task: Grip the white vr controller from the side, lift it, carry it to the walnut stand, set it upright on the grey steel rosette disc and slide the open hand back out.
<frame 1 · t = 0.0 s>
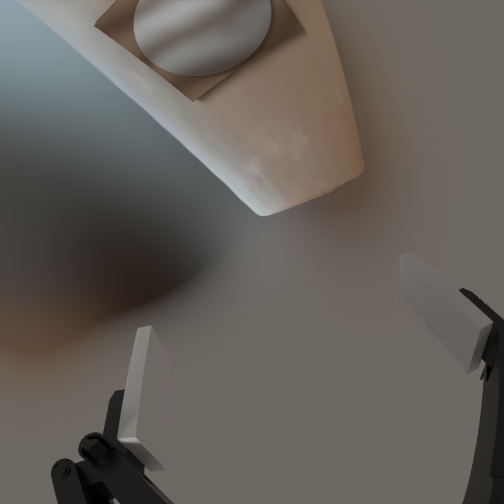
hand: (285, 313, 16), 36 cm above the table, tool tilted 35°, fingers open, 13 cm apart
rosette stand: (200, 14, 31), on the table
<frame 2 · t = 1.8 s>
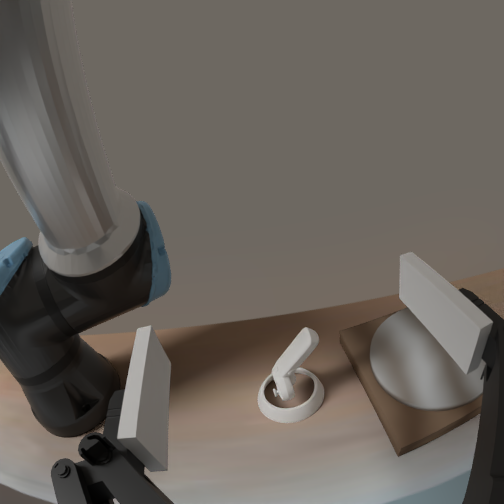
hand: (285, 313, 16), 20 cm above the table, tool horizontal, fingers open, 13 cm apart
rosette stand: (433, 364, 32), on the table
white vr controller: (291, 396, 34), on the table
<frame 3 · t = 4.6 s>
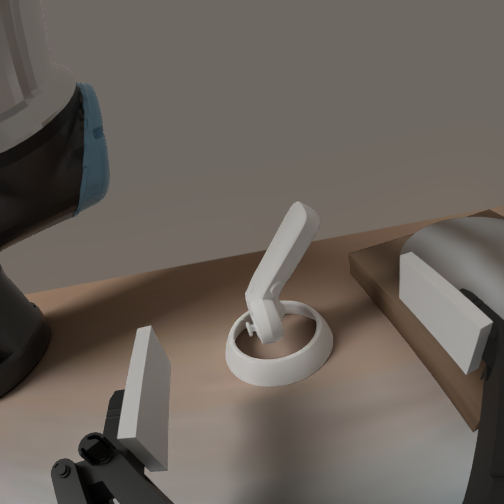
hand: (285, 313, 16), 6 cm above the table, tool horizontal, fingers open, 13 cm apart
rosette stand: (490, 292, 20), on the table
white vr controller: (279, 347, 22), on the table
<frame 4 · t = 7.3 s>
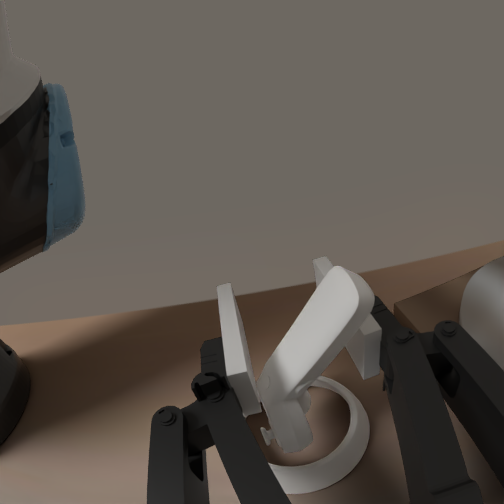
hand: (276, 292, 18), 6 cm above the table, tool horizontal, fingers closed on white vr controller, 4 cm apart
white vr controller: (300, 435, 16), on the table, touching gripper
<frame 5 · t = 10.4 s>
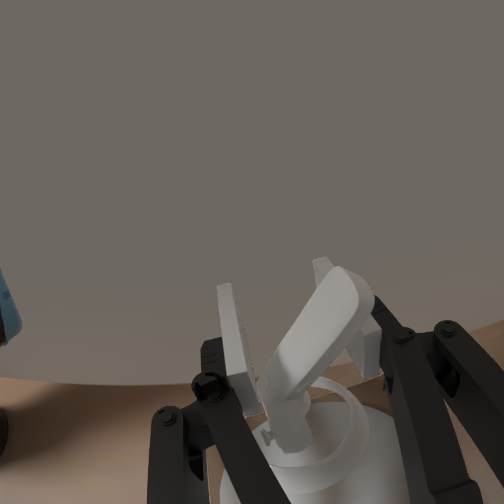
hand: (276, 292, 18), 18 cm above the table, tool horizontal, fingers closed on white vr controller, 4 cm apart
rosette stand: (323, 492, 21), on the table
white vr controller: (300, 435, 16), point 11 cm above the table, touching gripper
when the fingers open (9 cm above the table, at t = 13.5 s): white vr controller stays where it is, resting on rosette stand.
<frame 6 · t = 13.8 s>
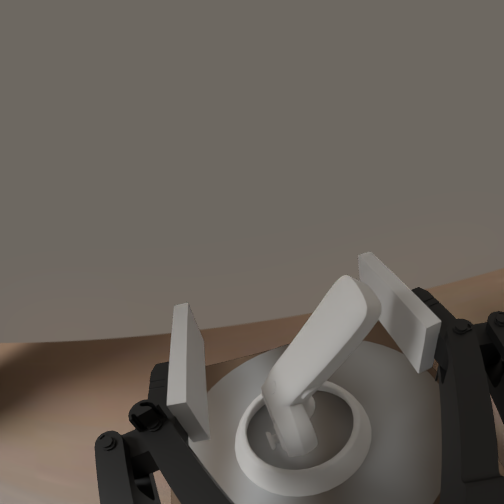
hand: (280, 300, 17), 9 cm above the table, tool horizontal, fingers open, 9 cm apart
rosette stand: (319, 455, 17), on the table
white vr controller: (303, 438, 16), point 3 cm above the table, touching rosette stand
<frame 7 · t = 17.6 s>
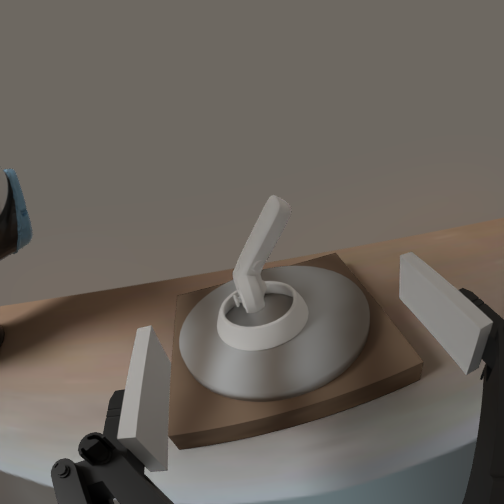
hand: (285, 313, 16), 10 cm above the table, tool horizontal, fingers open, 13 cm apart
rosette stand: (277, 342, 28), on the table
white vr controller: (263, 320, 26), point 3 cm above the table, touching rosette stand
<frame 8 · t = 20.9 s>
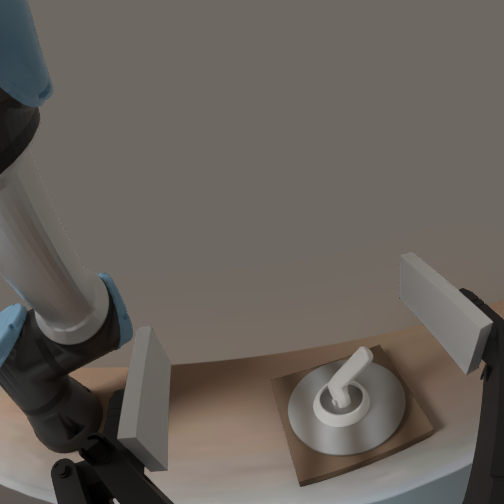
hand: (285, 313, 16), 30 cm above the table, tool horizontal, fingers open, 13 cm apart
rosette stand: (347, 413, 40), on the table
white vr controller: (341, 404, 38), point 3 cm above the table, touching rosette stand
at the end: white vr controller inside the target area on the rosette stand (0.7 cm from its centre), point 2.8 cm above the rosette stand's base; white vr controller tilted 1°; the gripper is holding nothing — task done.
